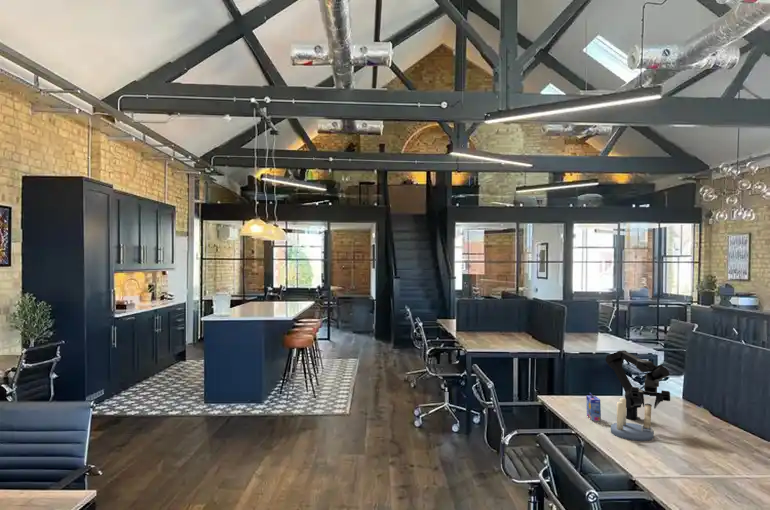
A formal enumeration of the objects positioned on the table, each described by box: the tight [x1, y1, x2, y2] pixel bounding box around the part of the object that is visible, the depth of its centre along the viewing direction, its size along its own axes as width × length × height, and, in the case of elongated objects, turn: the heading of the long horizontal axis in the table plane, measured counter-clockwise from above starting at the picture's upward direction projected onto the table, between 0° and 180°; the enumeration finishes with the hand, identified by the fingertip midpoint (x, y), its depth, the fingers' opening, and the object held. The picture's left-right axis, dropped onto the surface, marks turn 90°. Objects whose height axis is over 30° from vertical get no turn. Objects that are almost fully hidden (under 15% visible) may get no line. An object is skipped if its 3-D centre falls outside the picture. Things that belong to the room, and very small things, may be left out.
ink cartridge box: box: [585, 392, 602, 422], centre depth 292 cm, size 10×6×14 cm, turn 174°
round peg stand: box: [610, 397, 655, 442], centre depth 265 cm, size 20×20×16 cm
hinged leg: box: [643, 403, 652, 430], centre depth 264 cm, size 3×3×13 cm
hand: (649, 407), depth 270 cm, fingers open, 5 cm apart
